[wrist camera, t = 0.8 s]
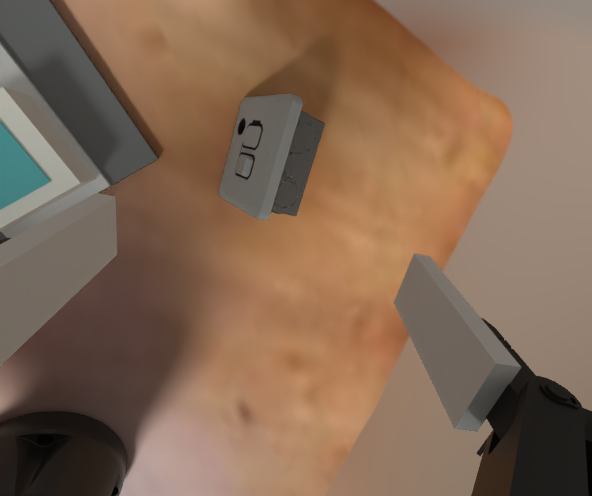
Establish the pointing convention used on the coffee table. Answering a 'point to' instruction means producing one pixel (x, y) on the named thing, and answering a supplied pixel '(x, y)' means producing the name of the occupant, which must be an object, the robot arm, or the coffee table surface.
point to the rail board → (56, 120)
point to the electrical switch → (270, 155)
